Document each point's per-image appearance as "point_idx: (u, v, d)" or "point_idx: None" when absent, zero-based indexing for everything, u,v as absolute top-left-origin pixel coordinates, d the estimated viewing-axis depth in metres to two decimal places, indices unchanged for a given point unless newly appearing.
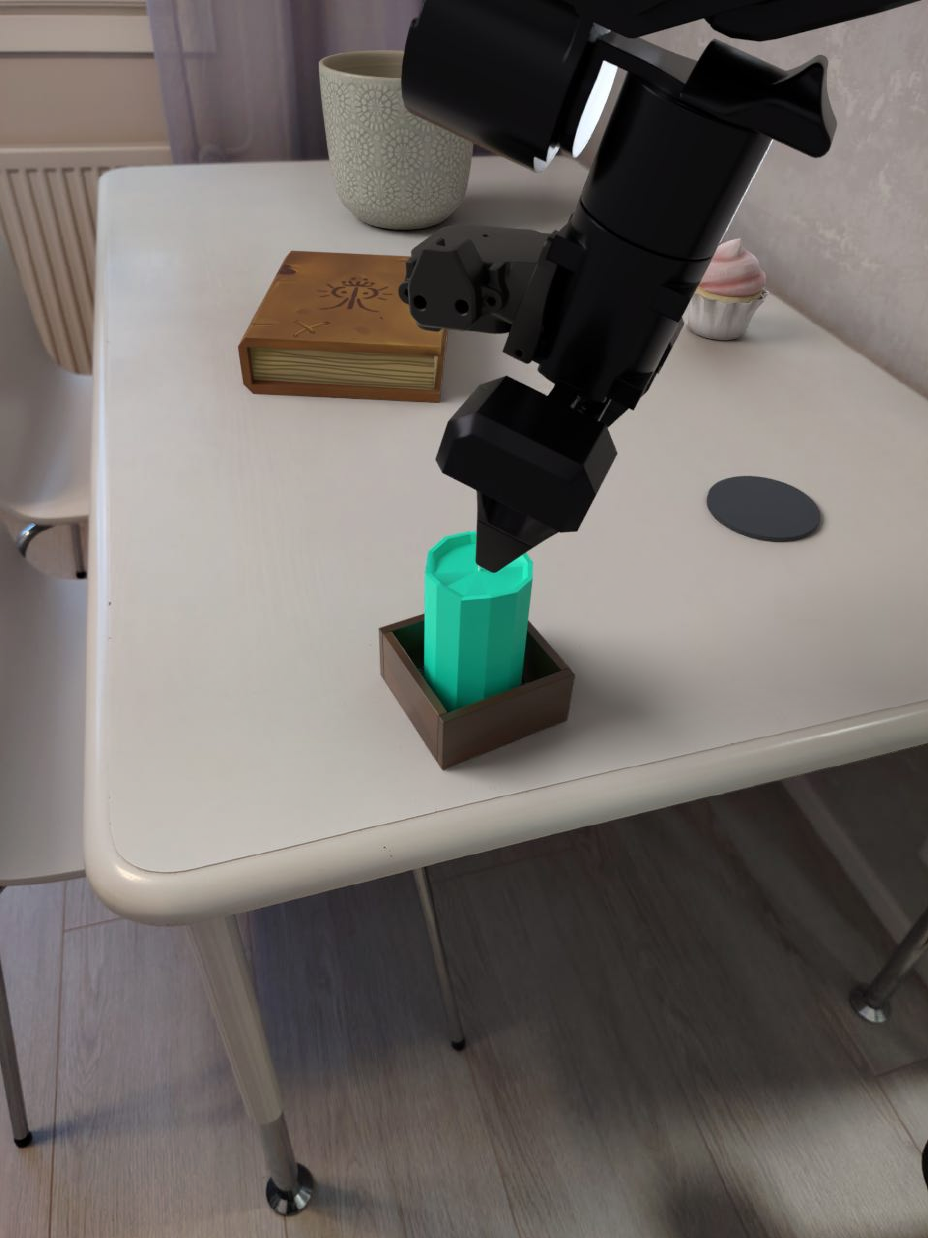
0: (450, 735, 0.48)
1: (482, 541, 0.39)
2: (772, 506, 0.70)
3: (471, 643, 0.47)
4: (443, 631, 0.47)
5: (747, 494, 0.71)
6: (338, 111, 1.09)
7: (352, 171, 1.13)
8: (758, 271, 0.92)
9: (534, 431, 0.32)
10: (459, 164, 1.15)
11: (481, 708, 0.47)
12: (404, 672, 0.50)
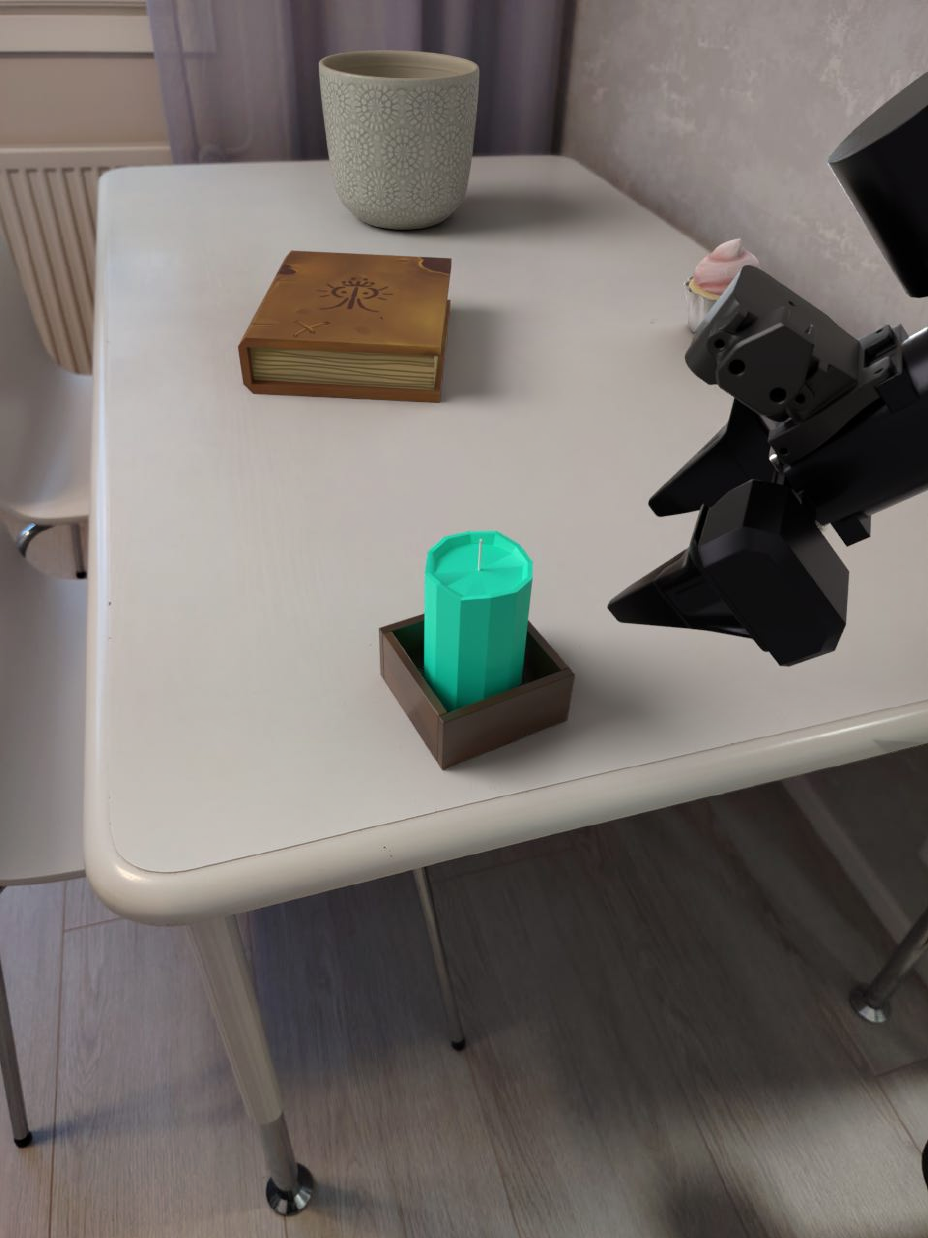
0: (450, 735, 0.48)
1: (637, 598, 0.38)
2: None
3: (471, 643, 0.47)
4: (443, 631, 0.47)
5: None
6: (338, 111, 1.09)
7: (352, 171, 1.13)
8: None
9: (815, 570, 0.31)
10: (459, 164, 1.15)
11: (481, 708, 0.47)
12: (404, 672, 0.50)
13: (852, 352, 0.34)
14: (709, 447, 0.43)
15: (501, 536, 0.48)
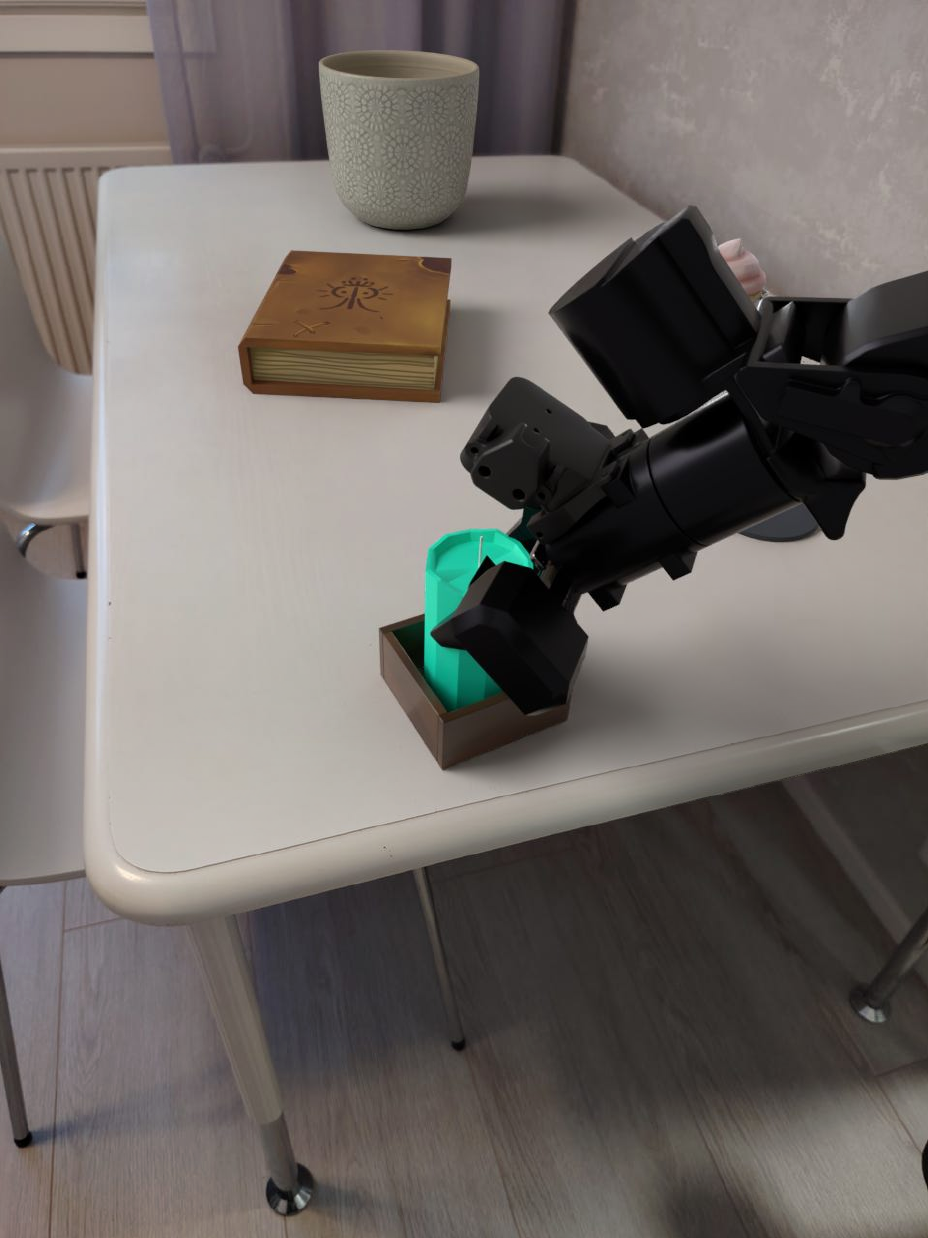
0: (450, 735, 0.48)
1: (448, 628, 0.46)
2: None
3: None
4: None
5: None
6: (338, 111, 1.09)
7: (352, 171, 1.13)
8: (758, 271, 0.92)
9: (542, 640, 0.37)
10: (459, 164, 1.15)
11: (481, 708, 0.47)
12: (404, 672, 0.50)
13: (597, 453, 0.41)
14: (510, 532, 0.49)
15: (501, 533, 0.49)
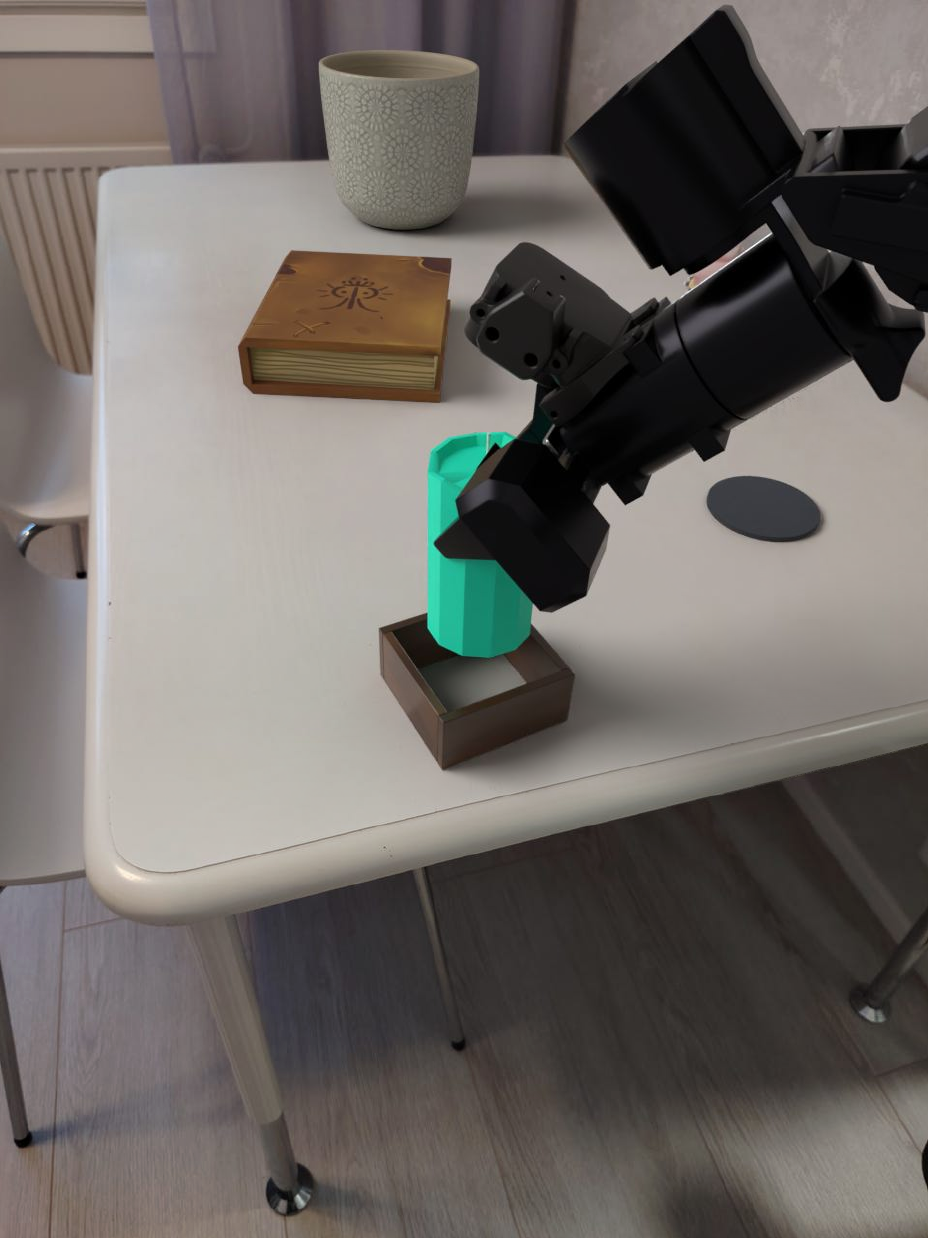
0: (450, 735, 0.48)
1: (453, 533, 0.42)
2: (772, 506, 0.70)
3: None
4: None
5: (747, 494, 0.71)
6: (338, 111, 1.09)
7: (352, 171, 1.13)
8: None
9: (559, 520, 0.33)
10: (459, 164, 1.15)
11: (481, 708, 0.47)
12: (404, 672, 0.50)
13: (617, 322, 0.36)
14: (520, 434, 0.45)
15: (509, 436, 0.45)
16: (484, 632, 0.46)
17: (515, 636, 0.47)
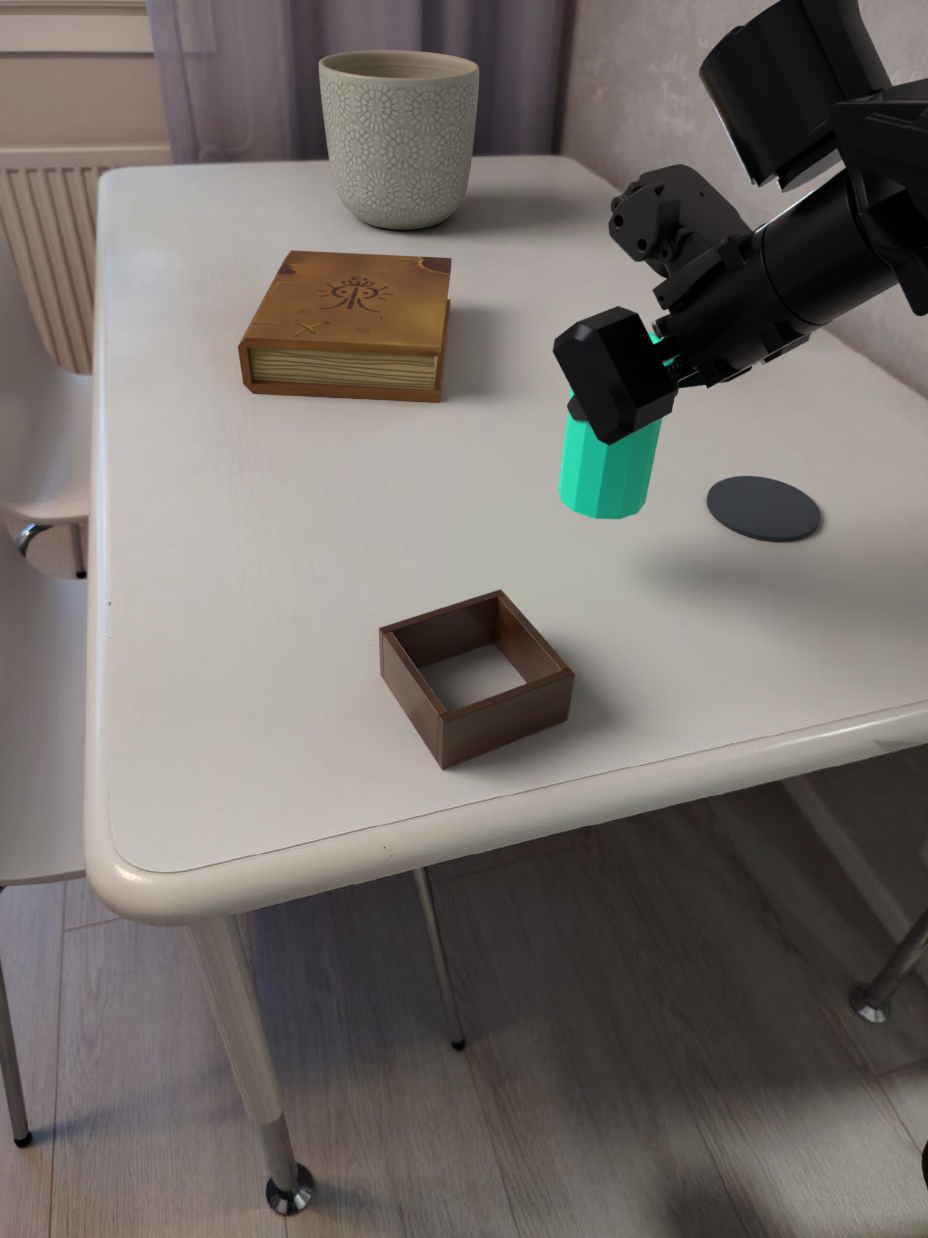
0: (450, 735, 0.48)
1: None
2: (772, 506, 0.70)
3: None
4: None
5: (747, 494, 0.71)
6: (338, 111, 1.09)
7: (352, 171, 1.13)
8: None
9: (624, 366, 0.43)
10: (459, 164, 1.15)
11: (481, 708, 0.47)
12: (404, 672, 0.50)
13: (733, 234, 0.45)
14: (664, 337, 0.54)
15: (655, 337, 0.54)
16: (593, 494, 0.56)
17: (619, 506, 0.56)
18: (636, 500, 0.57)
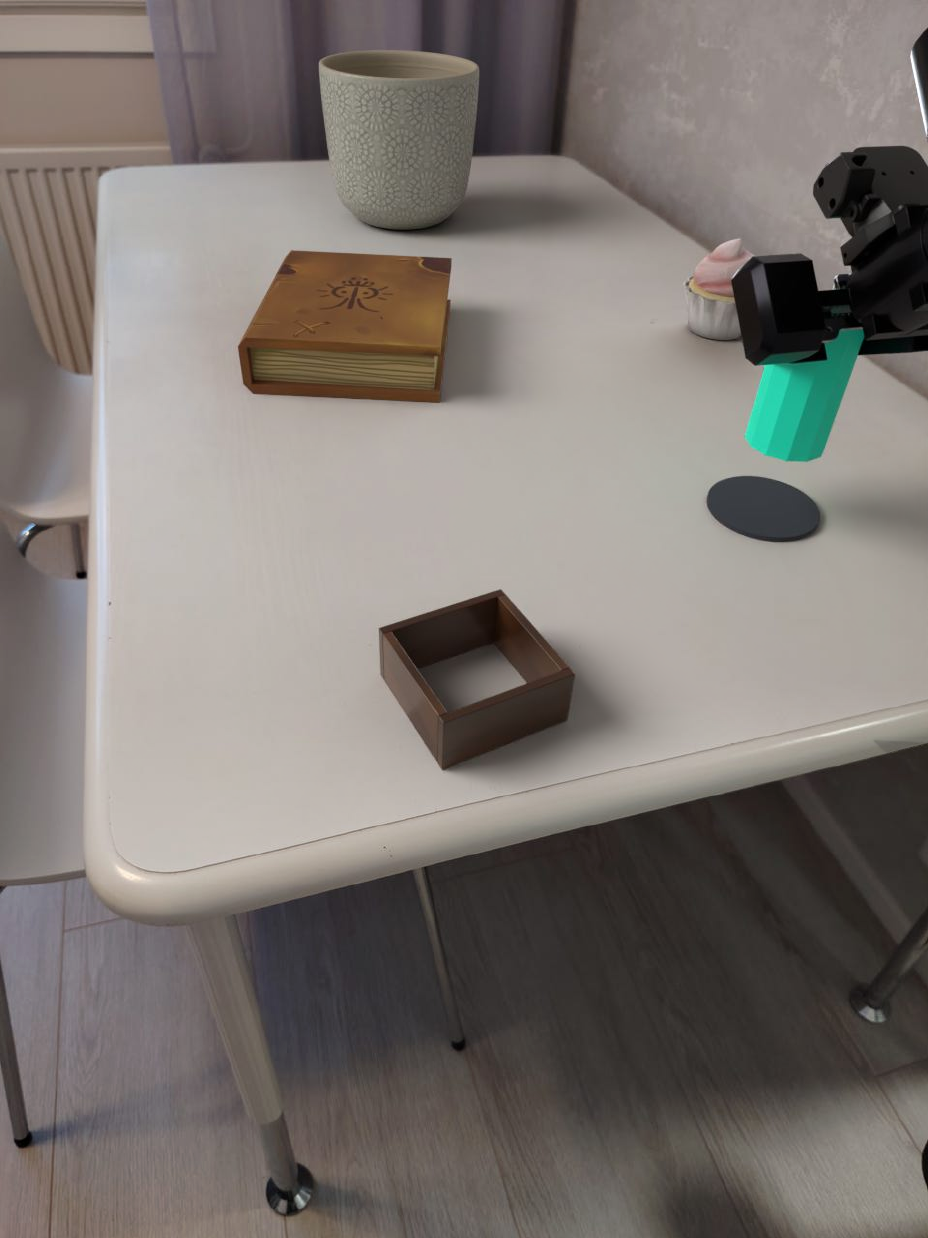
0: (450, 735, 0.48)
1: None
2: (772, 506, 0.70)
3: None
4: None
5: (747, 494, 0.71)
6: (338, 111, 1.09)
7: (352, 171, 1.13)
8: None
9: (779, 297, 0.51)
10: (459, 164, 1.15)
11: (481, 708, 0.47)
12: (404, 672, 0.50)
13: None
14: None
15: None
16: (767, 431, 0.64)
17: (789, 448, 0.63)
18: (807, 448, 0.63)
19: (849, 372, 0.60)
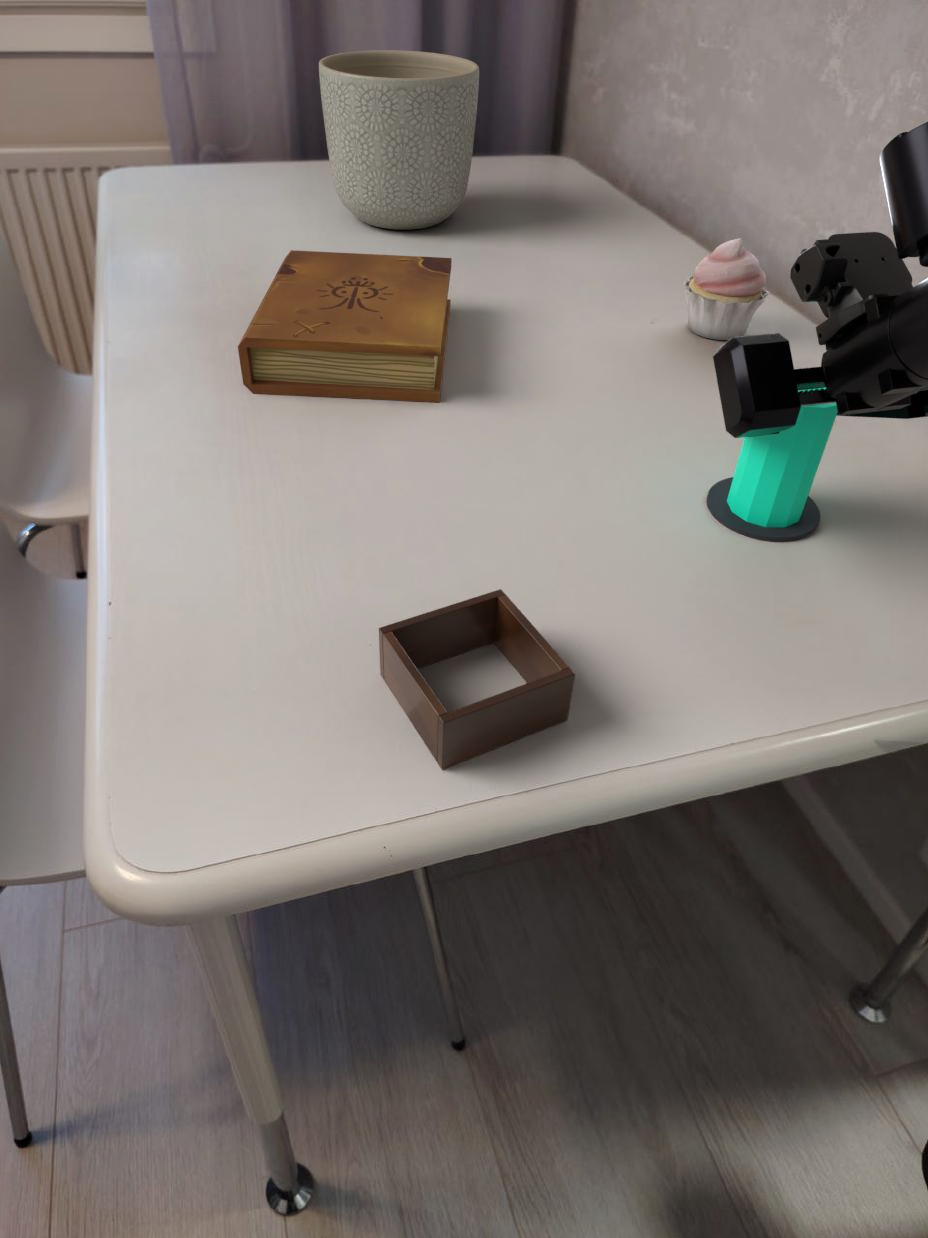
0: (450, 735, 0.48)
1: None
2: None
3: None
4: None
5: None
6: (338, 111, 1.09)
7: (352, 171, 1.13)
8: (758, 271, 0.92)
9: (757, 377, 0.55)
10: (459, 164, 1.15)
11: (481, 708, 0.47)
12: (404, 672, 0.50)
13: (894, 295, 0.54)
14: None
15: None
16: (747, 500, 0.68)
17: (768, 515, 0.67)
18: (785, 515, 0.67)
19: (823, 447, 0.64)
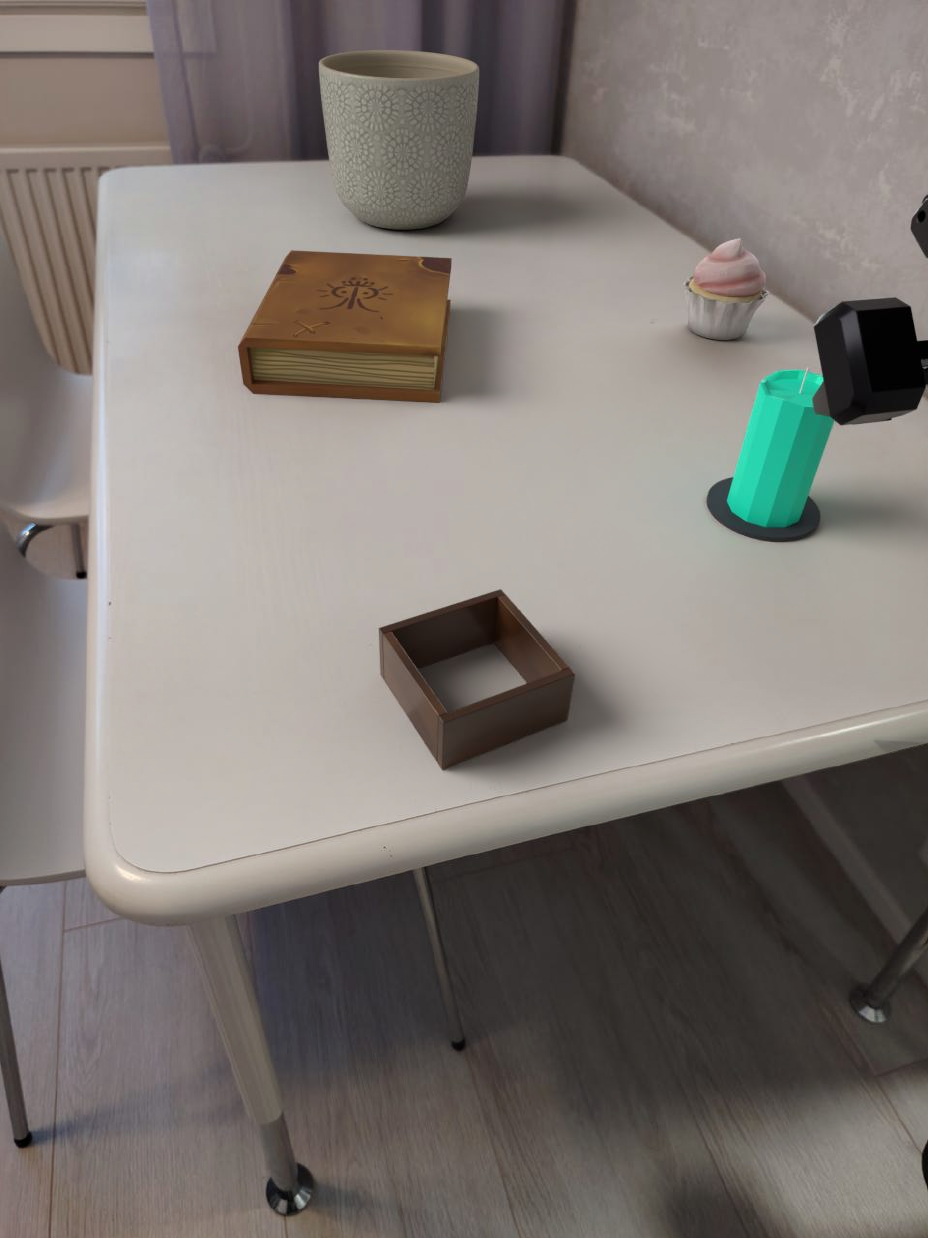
0: (450, 735, 0.48)
1: (822, 388, 0.53)
2: None
3: (761, 435, 0.64)
4: (751, 422, 0.65)
5: None
6: (338, 111, 1.09)
7: (352, 171, 1.13)
8: (758, 271, 0.92)
9: (873, 350, 0.45)
10: (459, 164, 1.15)
11: (481, 708, 0.47)
12: (404, 672, 0.50)
13: None
14: None
15: None
16: (747, 500, 0.68)
17: (768, 515, 0.67)
18: (785, 515, 0.67)
19: (823, 447, 0.64)
